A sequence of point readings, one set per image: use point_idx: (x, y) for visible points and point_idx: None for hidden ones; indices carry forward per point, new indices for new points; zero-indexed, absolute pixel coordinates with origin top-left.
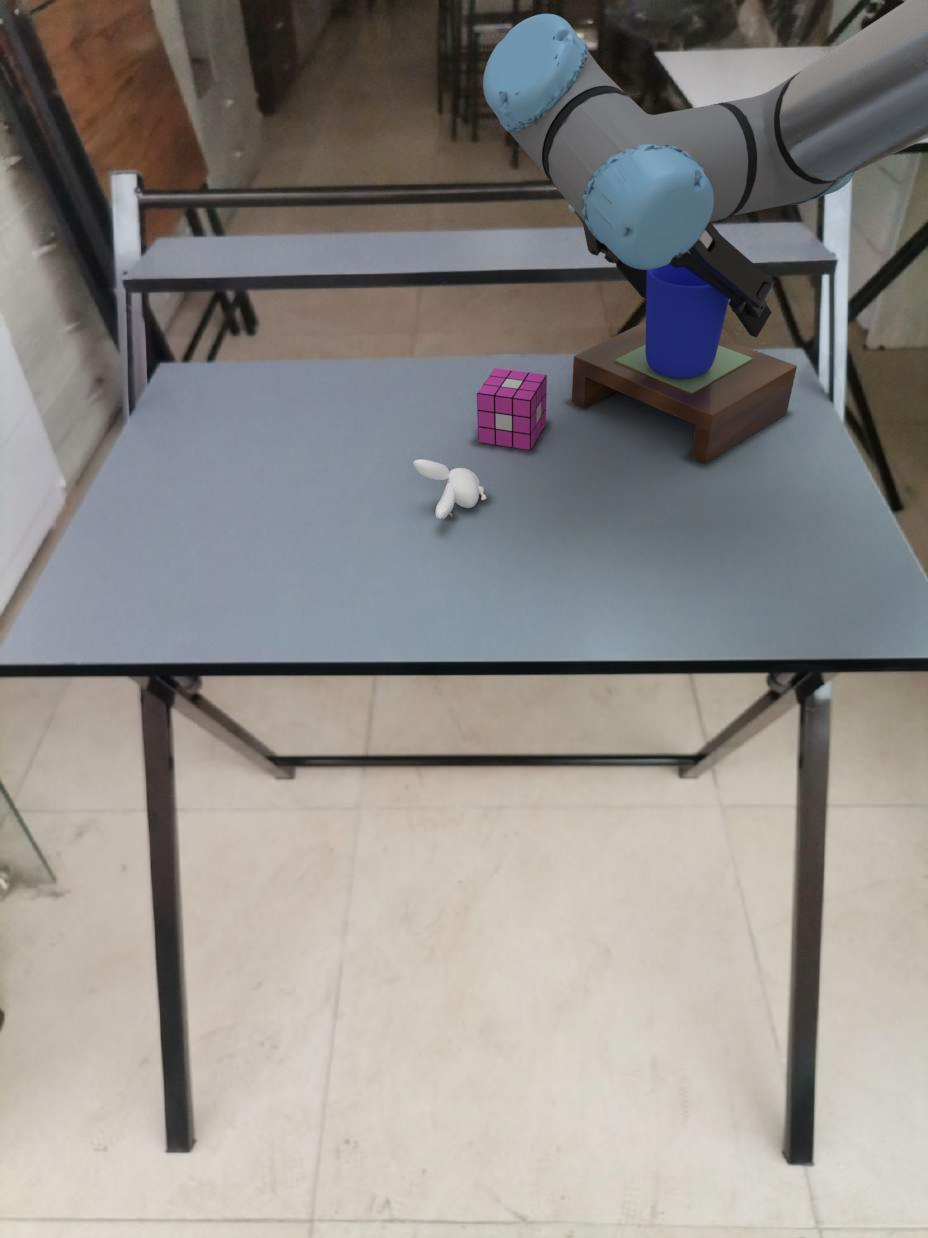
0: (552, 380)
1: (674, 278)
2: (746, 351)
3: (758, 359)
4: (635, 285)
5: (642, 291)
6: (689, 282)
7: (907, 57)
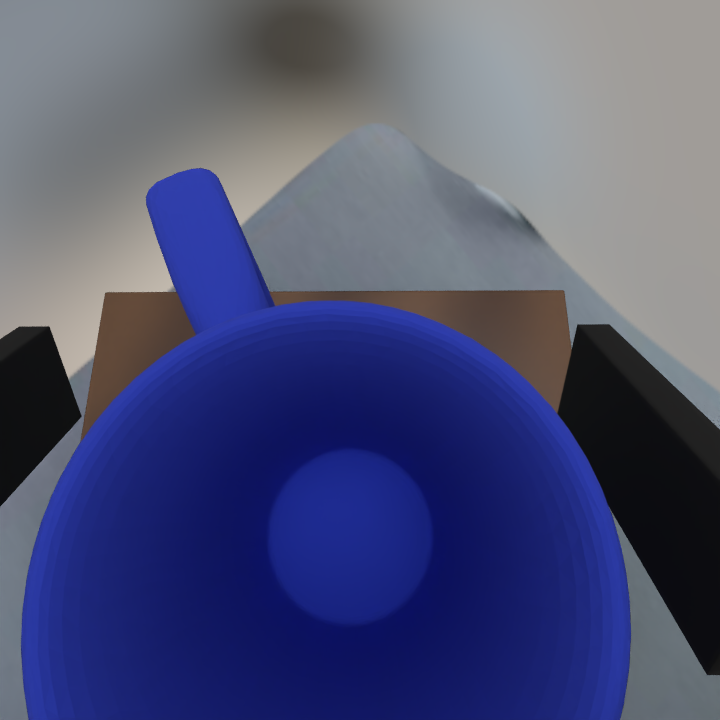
0: (15, 589)
1: (180, 470)
2: (422, 311)
3: (473, 327)
4: (8, 492)
5: (49, 446)
6: (247, 415)
7: None
